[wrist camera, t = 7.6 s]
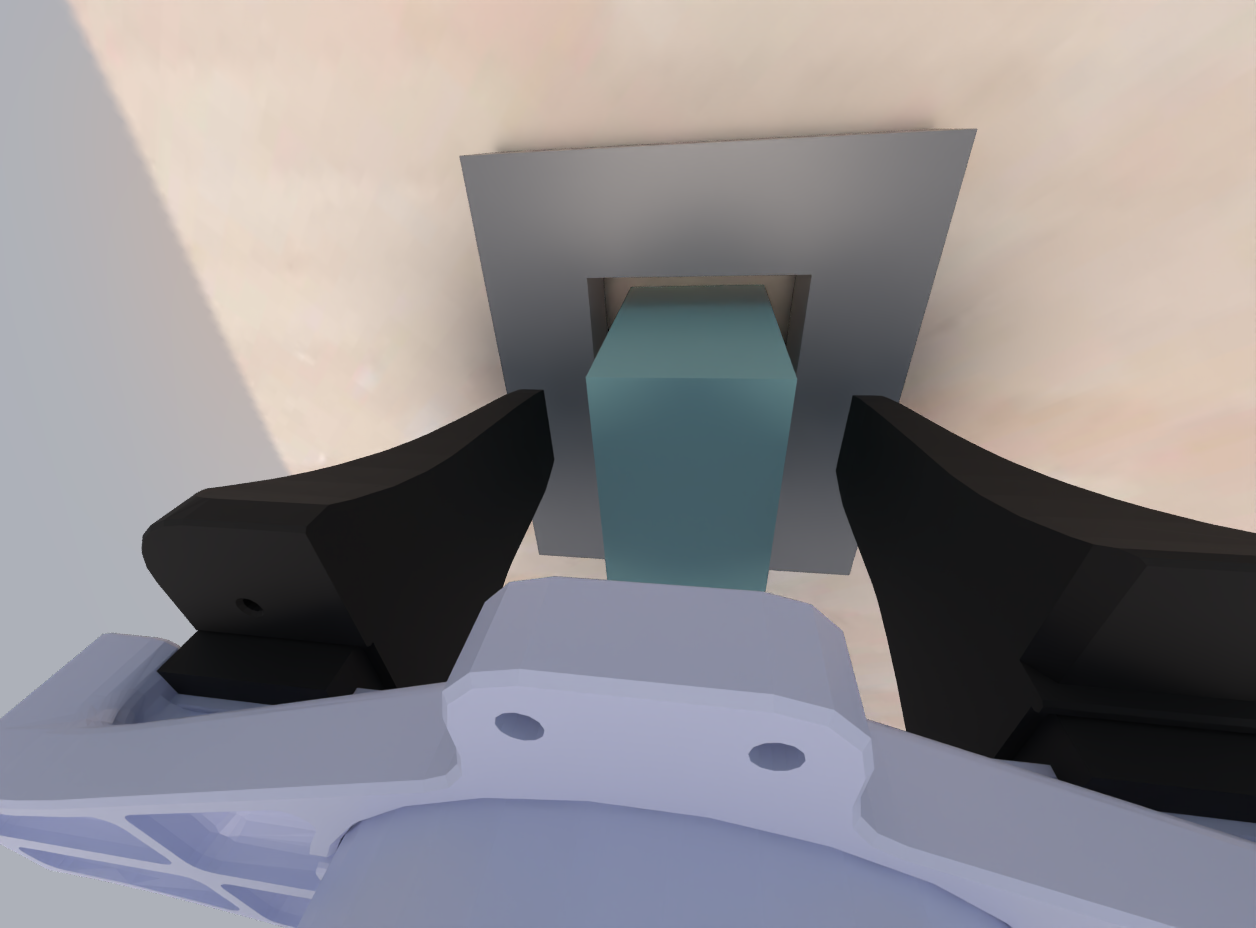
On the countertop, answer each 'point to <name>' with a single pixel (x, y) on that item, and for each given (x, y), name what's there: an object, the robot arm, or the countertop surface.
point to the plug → (691, 435)
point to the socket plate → (718, 246)
